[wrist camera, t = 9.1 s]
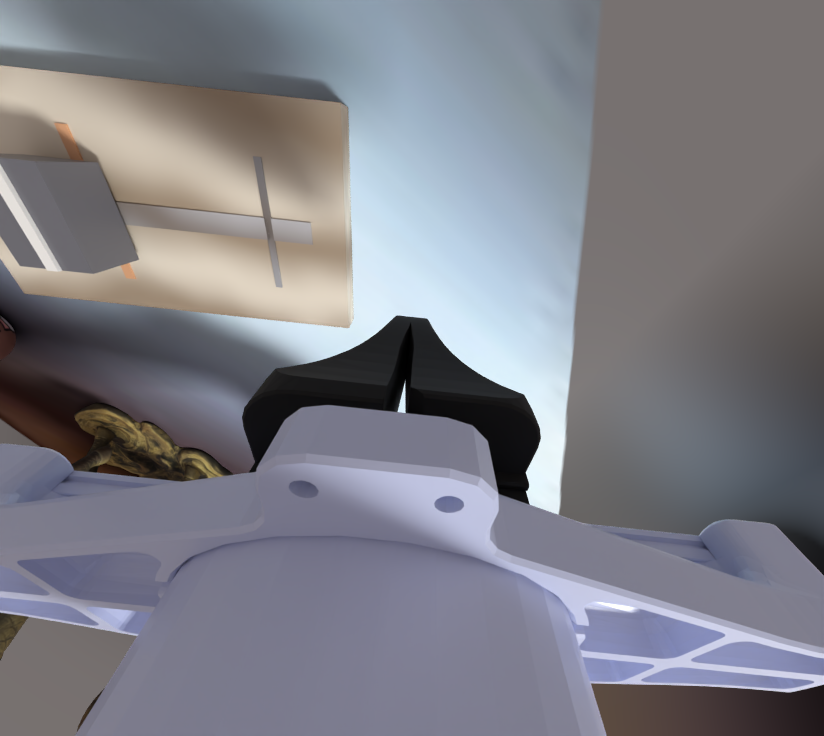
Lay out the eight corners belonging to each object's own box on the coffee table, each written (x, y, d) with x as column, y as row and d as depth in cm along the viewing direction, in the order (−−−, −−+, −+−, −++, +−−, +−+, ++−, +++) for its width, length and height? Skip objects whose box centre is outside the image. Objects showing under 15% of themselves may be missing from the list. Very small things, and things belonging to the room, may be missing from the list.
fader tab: (139, 259, 18) (90, 275, 16) (75, 252, 18) (15, 267, 16) (97, 162, 16) (29, 161, 13) (22, 154, 16) (-62, 151, 13)
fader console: (353, 318, 22) (348, 328, 21) (47, 286, 22) (22, 294, 21) (348, 107, 15) (340, 102, 14) (-96, 59, 15) (-146, 49, 14)
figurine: (139, 387, 27) (-320, 733, 11) (289, 524, 40) (187, 778, 23) (50, 416, 30) (-415, 721, 14) (216, 535, 43) (80, 767, 27)
